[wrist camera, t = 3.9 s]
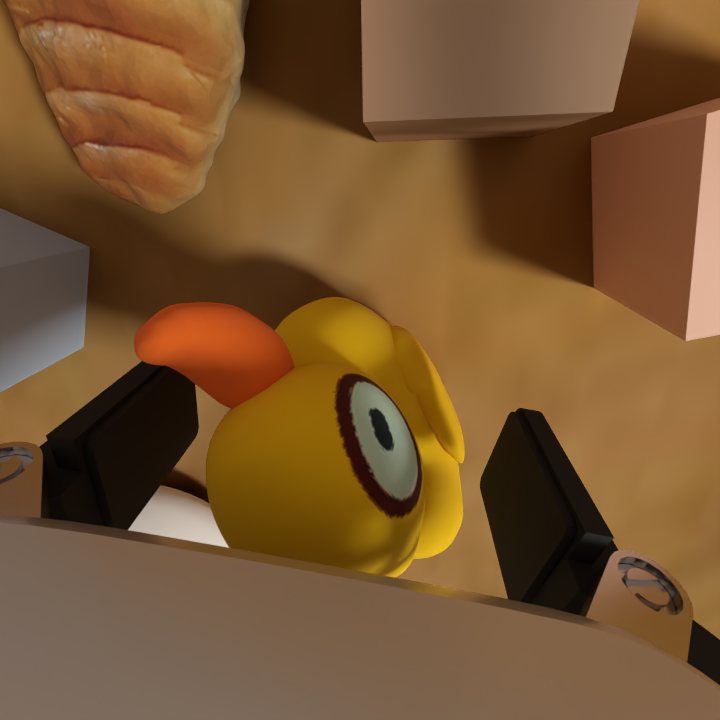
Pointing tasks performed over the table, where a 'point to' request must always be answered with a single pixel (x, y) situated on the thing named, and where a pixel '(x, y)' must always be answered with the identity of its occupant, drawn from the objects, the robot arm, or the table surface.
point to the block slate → (39, 297)
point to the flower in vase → (178, 517)
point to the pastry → (138, 87)
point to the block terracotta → (661, 219)
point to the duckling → (320, 432)
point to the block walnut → (489, 65)
